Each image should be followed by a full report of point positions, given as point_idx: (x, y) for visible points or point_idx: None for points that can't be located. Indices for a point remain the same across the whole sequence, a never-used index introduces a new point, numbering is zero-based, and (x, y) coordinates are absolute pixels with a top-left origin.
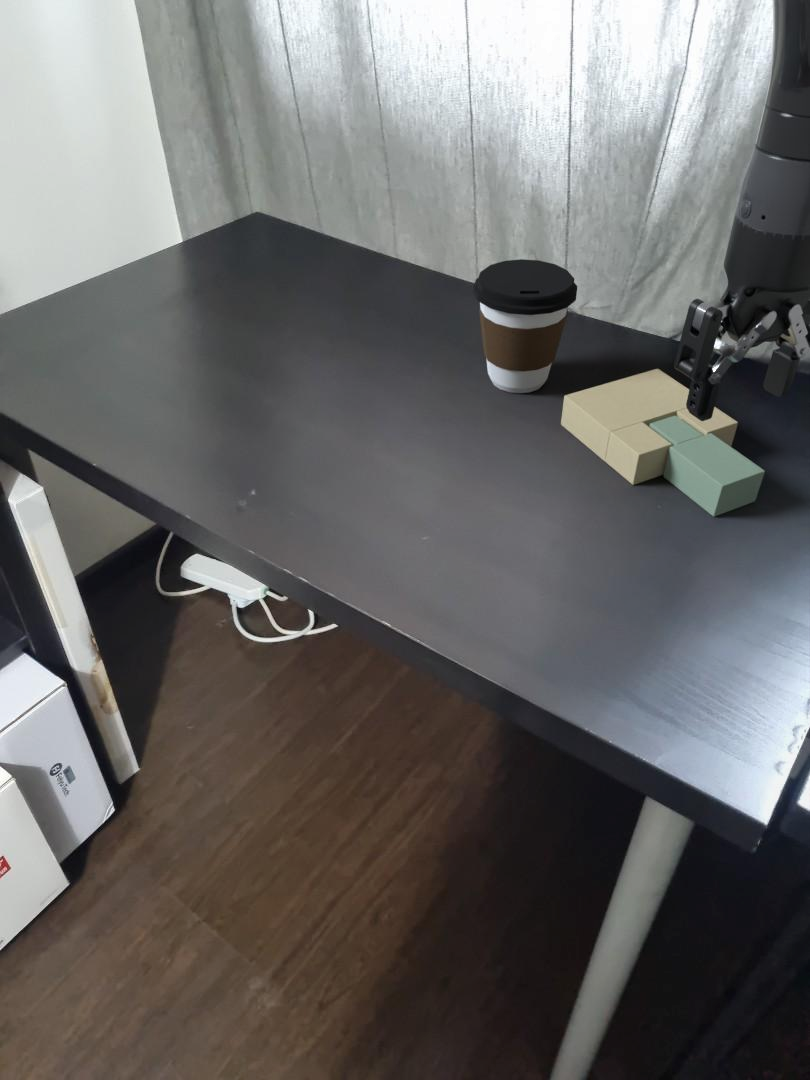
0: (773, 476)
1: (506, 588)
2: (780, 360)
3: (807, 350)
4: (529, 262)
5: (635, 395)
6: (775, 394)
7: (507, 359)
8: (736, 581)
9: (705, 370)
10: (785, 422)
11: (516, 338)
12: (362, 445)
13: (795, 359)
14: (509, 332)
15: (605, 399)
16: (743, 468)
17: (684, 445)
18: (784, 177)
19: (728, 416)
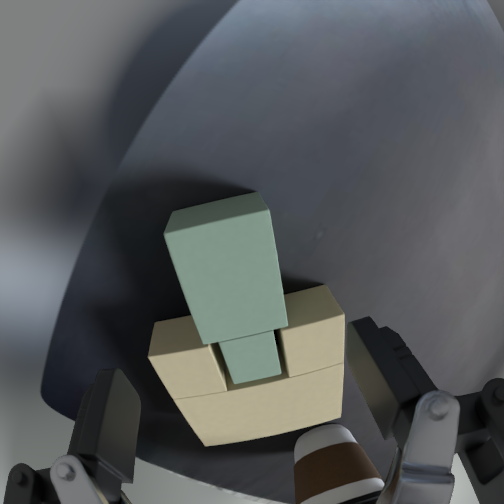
0: (116, 261)
1: (500, 163)
2: (118, 458)
3: (53, 468)
4: None
5: (262, 417)
6: (124, 377)
7: (360, 450)
8: (306, 56)
9: (493, 411)
10: (65, 351)
11: (366, 469)
12: (469, 359)
13: (85, 455)
14: (374, 473)
15: (303, 413)
16: (200, 248)
17: (264, 325)
18: None
19: (156, 370)
